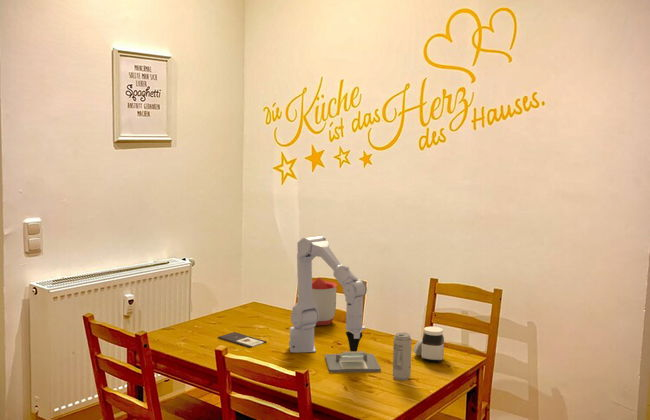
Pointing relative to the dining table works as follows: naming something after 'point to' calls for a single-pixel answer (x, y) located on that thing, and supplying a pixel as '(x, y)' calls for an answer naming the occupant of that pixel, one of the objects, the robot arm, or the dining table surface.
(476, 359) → the dining table surface
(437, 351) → the spread jar
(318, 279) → the citrus juicer
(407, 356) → the energy drink can
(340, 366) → the grey flat piece
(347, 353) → the tile
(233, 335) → the chocolate bar
